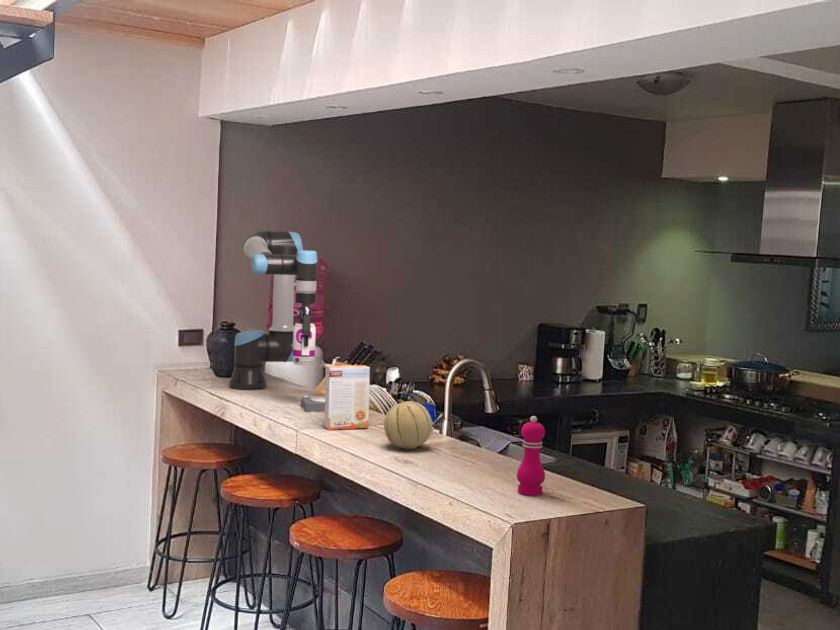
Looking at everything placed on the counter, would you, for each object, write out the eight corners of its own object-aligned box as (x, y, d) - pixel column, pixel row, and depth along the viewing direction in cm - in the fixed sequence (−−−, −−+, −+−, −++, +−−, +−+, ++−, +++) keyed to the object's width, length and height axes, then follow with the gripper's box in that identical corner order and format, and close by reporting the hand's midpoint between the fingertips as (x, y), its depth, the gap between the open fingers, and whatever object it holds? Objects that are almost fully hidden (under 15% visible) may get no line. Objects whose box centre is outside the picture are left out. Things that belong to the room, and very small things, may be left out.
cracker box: (363, 425, 328) (365, 364, 326) (368, 429, 322) (370, 367, 321) (323, 427, 323) (325, 364, 321) (327, 430, 317) (329, 367, 316)
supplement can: (312, 365, 353) (314, 324, 352) (290, 364, 353) (291, 323, 353) (316, 363, 361) (317, 323, 360) (294, 362, 362) (295, 322, 361)
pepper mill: (545, 491, 251) (549, 414, 249) (542, 498, 244) (546, 419, 242) (518, 488, 252) (521, 412, 251) (513, 495, 245) (517, 417, 244)
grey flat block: (300, 405, 363) (301, 395, 362) (342, 404, 367) (343, 395, 366) (306, 411, 349) (306, 401, 349) (349, 411, 353) (350, 401, 353)
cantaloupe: (434, 454, 289) (436, 404, 288) (385, 453, 287) (387, 403, 286) (427, 443, 304) (429, 396, 302) (380, 443, 301) (382, 395, 300)
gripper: (292, 290, 365) (291, 350, 366) (298, 293, 345) (296, 356, 346) (312, 291, 367) (310, 350, 368) (319, 294, 346) (317, 357, 348)
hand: (304, 353), depth 357 cm, fingers closed on supplement can, 8 cm apart
